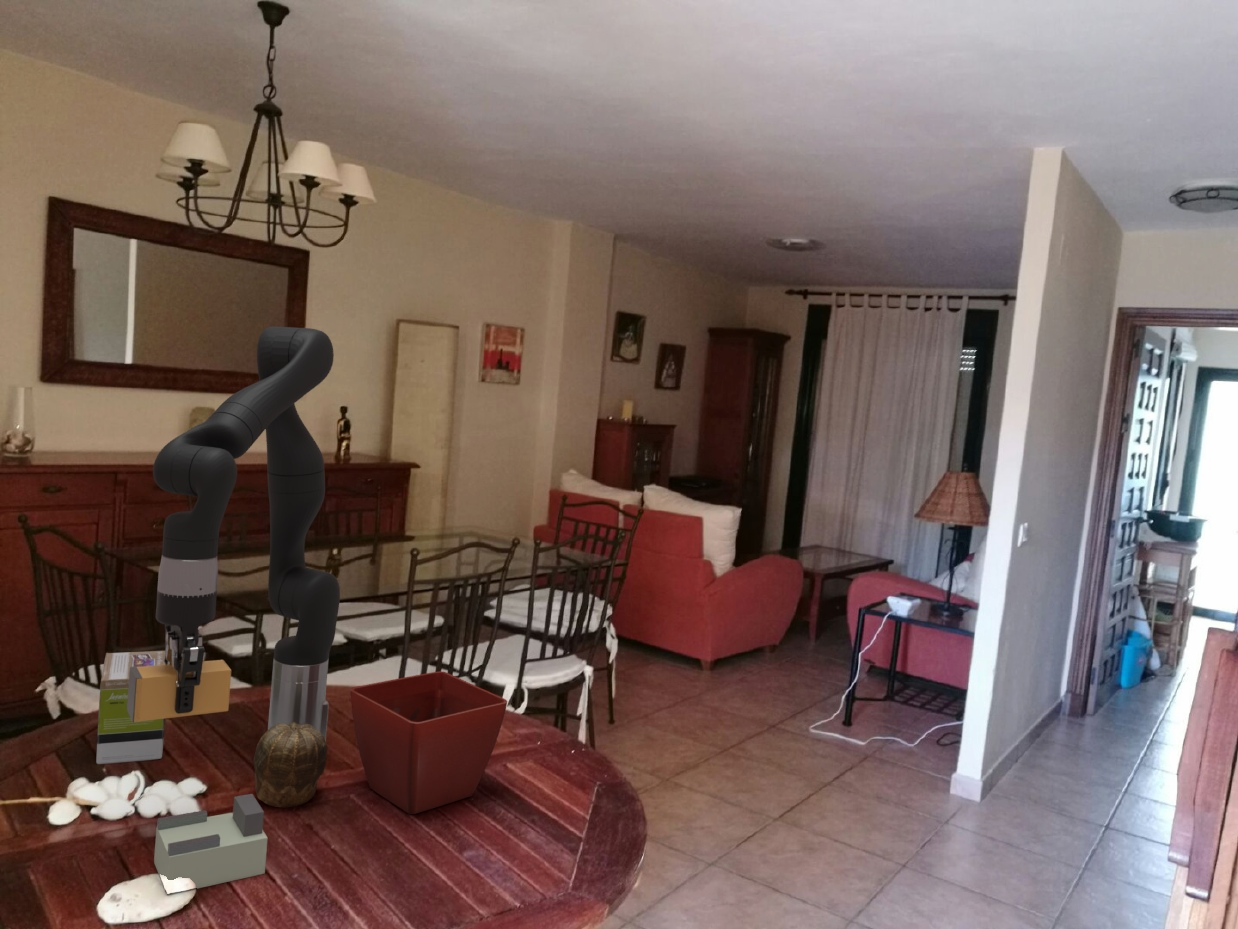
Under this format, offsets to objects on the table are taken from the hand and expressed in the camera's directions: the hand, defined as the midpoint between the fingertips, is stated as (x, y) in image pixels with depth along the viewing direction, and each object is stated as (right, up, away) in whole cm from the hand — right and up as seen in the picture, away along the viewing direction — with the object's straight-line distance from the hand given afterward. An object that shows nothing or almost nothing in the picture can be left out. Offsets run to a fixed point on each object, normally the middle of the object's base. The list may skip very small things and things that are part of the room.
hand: (179, 704), depth 126 cm
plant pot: (+29, -21, +23) cm, 43 cm away
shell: (+9, -19, +16) cm, 27 cm away
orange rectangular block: (0, -1, 0) cm, 1 cm away
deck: (+7, -20, -6) cm, 22 cm away
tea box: (-23, -15, +29) cm, 40 cm away
